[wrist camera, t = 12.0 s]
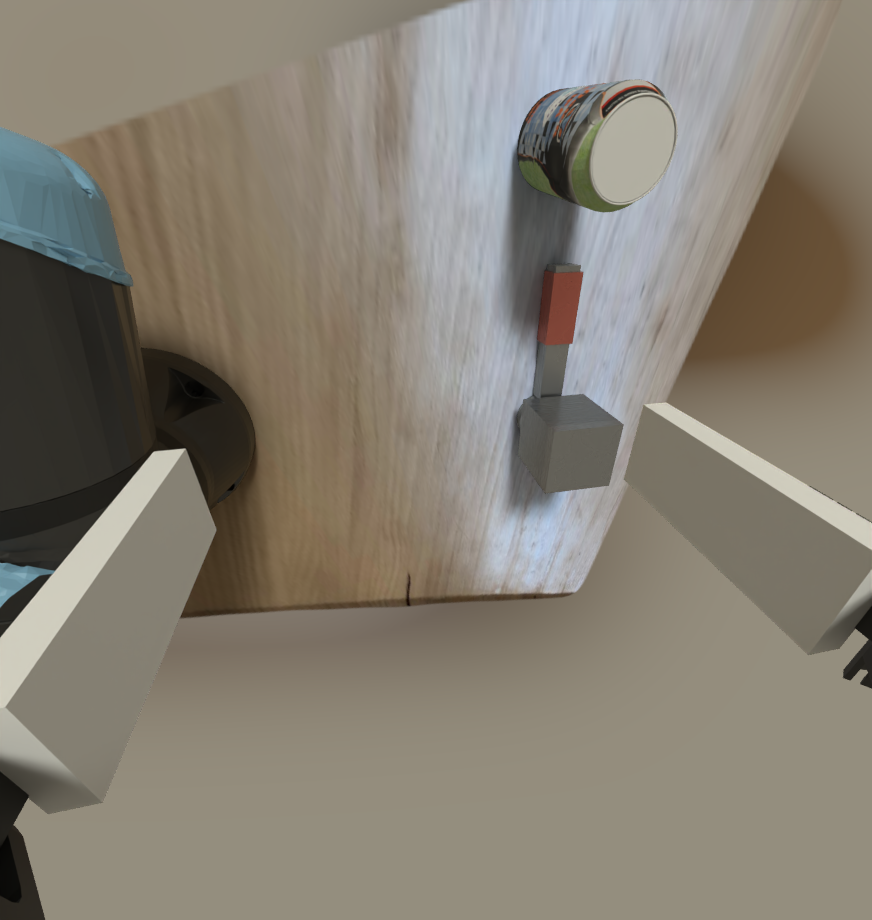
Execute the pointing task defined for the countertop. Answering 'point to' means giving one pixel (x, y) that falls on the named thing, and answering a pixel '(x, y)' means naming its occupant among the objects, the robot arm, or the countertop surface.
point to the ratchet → (555, 328)
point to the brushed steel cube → (568, 442)
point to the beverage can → (598, 143)
